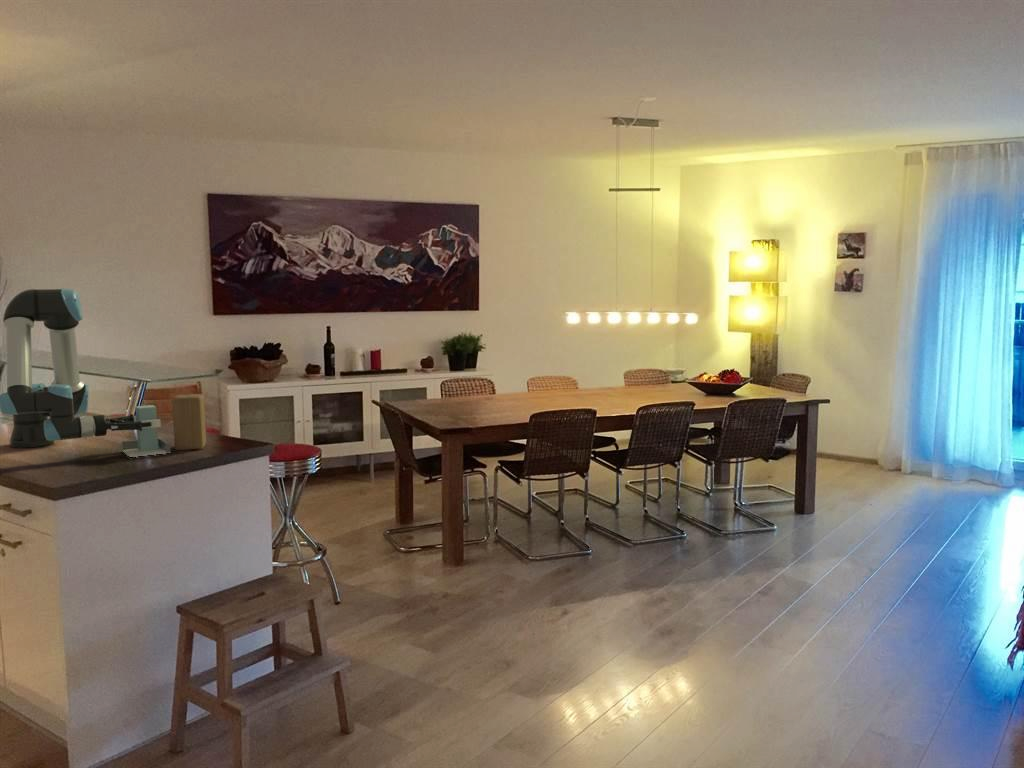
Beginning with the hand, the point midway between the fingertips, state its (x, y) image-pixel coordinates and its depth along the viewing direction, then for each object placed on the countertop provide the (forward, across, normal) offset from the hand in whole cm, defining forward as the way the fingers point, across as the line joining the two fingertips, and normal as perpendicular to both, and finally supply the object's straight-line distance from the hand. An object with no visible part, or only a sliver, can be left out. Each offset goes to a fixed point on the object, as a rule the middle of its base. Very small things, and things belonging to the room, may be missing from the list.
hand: (156, 420), depth 318 cm
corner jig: (-4, +1, -12) cm, 12 cm away
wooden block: (+12, +1, -12) cm, 16 cm away
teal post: (-3, 0, -10) cm, 11 cm away
